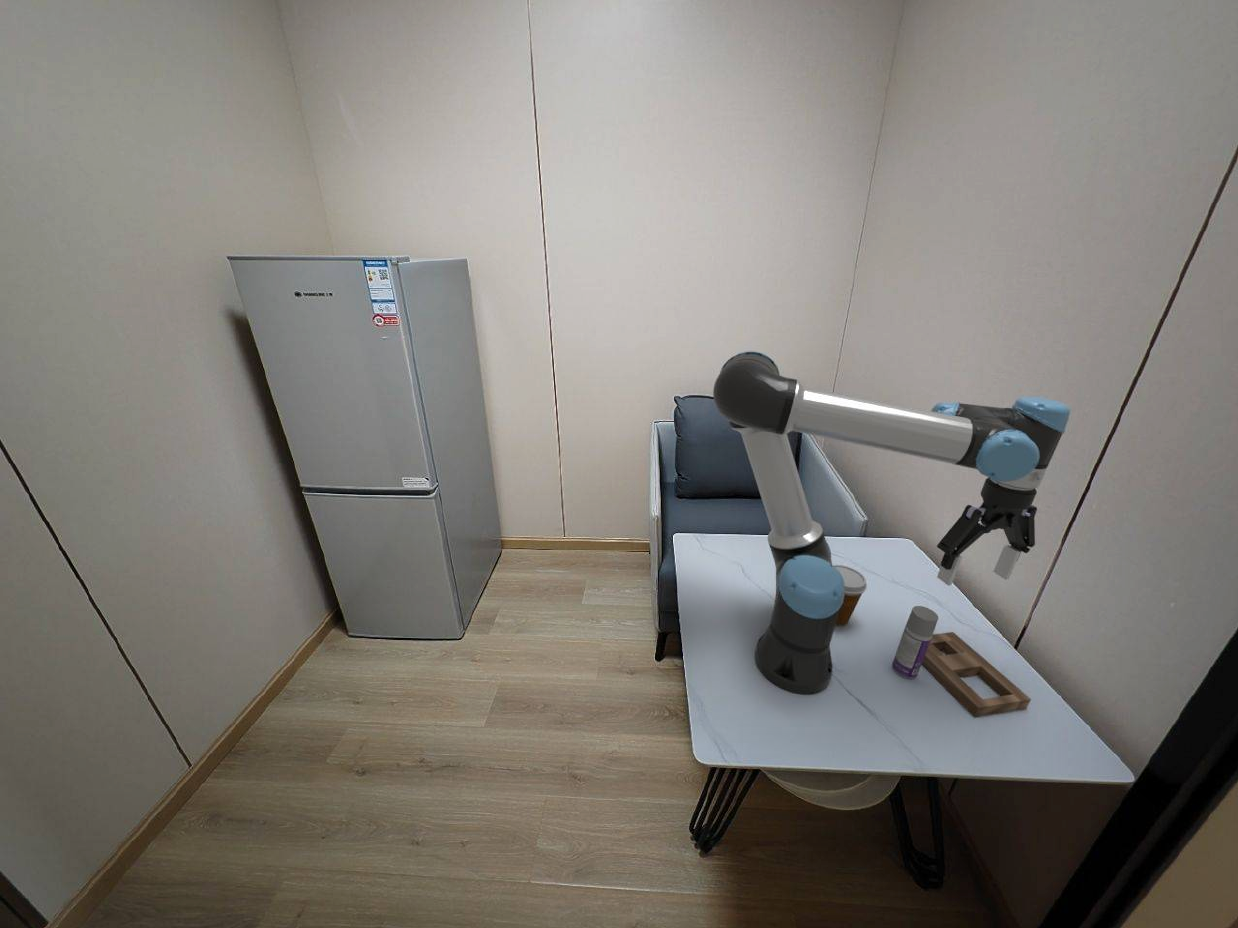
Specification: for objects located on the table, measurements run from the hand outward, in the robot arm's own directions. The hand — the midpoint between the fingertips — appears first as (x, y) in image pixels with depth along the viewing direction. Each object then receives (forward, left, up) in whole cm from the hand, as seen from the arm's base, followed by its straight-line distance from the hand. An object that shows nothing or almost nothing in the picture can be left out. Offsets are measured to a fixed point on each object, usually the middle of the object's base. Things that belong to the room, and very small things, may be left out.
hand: (972, 578), depth 94 cm
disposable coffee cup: (-16, +15, -21) cm, 30 cm away
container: (-11, -2, -21) cm, 24 cm away
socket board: (0, -5, -21) cm, 21 cm away
